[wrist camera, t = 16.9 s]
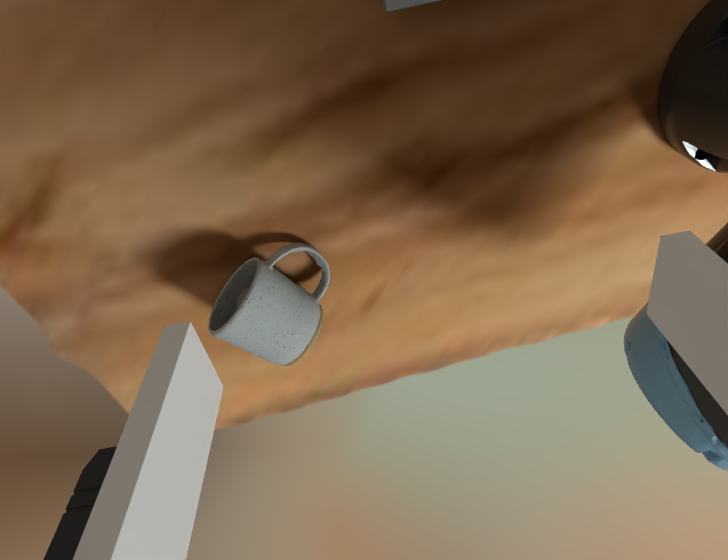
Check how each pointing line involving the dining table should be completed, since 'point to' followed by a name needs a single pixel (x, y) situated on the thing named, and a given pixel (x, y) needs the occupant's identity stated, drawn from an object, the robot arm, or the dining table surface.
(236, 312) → the ceramic mug
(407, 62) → the dining table surface
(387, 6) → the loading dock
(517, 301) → the dining table surface
